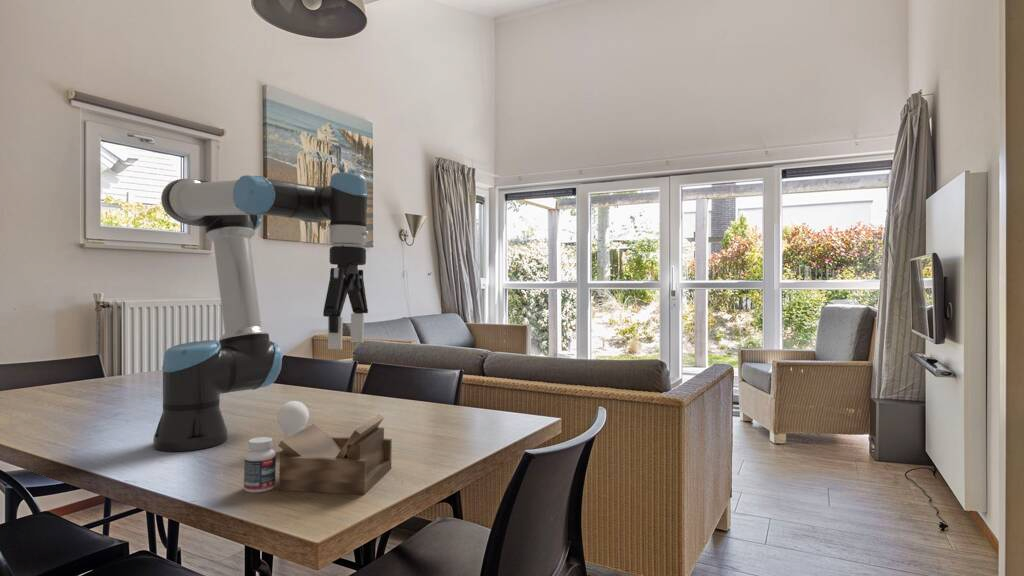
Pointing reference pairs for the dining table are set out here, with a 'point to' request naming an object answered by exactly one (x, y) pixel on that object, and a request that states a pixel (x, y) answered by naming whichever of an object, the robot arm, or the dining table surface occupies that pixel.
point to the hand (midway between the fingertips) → (346, 345)
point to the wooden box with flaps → (335, 460)
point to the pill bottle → (259, 466)
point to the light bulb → (292, 417)
